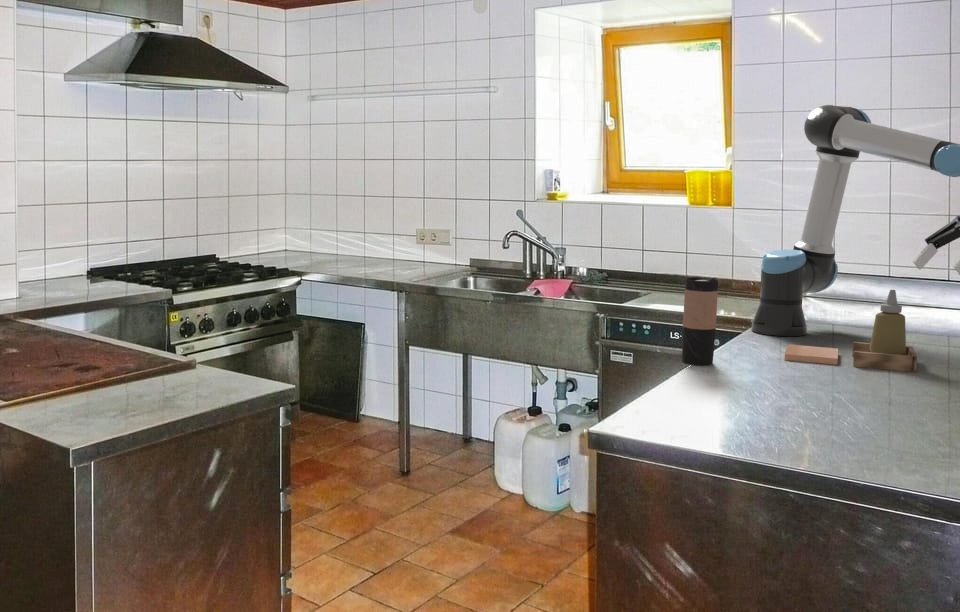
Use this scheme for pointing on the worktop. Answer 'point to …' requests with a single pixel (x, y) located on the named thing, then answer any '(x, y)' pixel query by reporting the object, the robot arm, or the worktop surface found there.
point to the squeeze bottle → (889, 328)
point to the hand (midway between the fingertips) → (936, 268)
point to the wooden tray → (883, 358)
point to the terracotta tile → (811, 354)
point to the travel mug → (699, 321)
